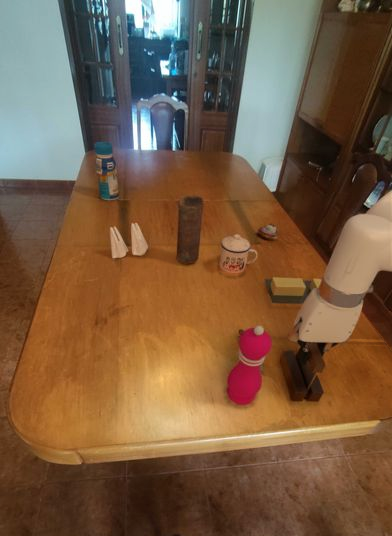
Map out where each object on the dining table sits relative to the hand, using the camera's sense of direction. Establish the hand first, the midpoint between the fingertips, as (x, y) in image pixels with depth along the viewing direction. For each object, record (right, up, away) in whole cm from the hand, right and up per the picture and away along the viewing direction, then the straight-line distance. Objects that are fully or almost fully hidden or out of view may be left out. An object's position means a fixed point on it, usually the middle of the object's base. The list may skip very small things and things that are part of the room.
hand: (307, 359), depth 68 cm
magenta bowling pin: (-11, +2, +11) cm, 15 cm away
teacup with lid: (-11, +29, +36) cm, 47 cm away
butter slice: (+12, +20, +28) cm, 36 cm away
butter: (+3, +20, +27) cm, 34 cm away
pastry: (+3, +46, +54) cm, 71 cm away
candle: (-27, +32, +38) cm, 56 cm away
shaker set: (-46, +34, +38) cm, 69 cm away
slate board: (+6, +19, +28) cm, 35 cm away
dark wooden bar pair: (0, -5, +5) cm, 7 cm away
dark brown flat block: (0, -3, +3) cm, 4 cm away
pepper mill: (-14, -8, +2) cm, 16 cm away
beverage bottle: (-62, +68, +69) cm, 115 cm away
